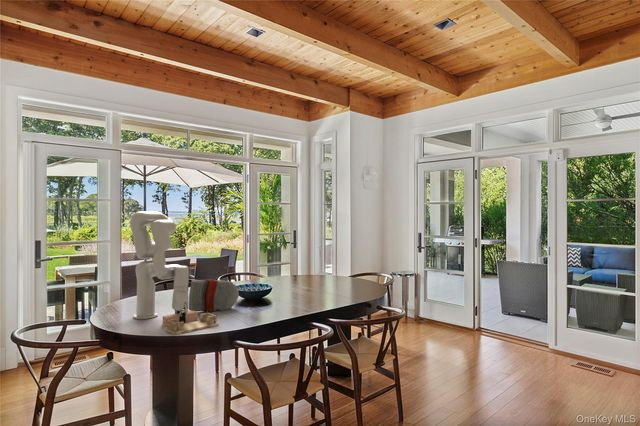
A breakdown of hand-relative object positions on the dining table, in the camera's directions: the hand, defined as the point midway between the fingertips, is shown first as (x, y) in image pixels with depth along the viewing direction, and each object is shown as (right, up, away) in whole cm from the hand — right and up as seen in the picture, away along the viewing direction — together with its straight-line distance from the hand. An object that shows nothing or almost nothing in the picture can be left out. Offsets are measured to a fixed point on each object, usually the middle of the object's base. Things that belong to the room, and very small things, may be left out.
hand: (180, 322), depth 213 cm
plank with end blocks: (+9, 0, -8) cm, 13 cm away
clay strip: (0, -1, 0) cm, 1 cm away
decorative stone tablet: (+11, -1, +28) cm, 30 cm away
